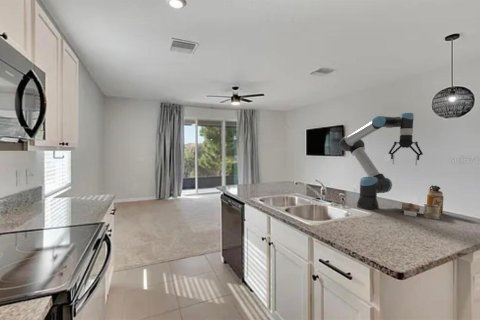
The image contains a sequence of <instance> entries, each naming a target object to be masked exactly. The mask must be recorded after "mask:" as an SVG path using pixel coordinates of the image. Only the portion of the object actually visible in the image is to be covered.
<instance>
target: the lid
mask: <svg viewBox="0 0 480 320" xmlns="http://www.w3.org/2000/svg"><path fill="white" fill-rule="evenodd" d="M420 208H421V207H420V205H419V204H413V203H411V202H408V203H404V202H402V203H401V211H404V210H405V211H412V212H417V213H420V211H421V210H420Z"/></svg>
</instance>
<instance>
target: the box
mask: <svg viewBox="0 0 480 320" xmlns="http://www.w3.org/2000/svg"><path fill="white" fill-rule="evenodd" d="M423 208H424V209H423V215H424V218H427V219H434V220H441V215H442V214H441V208H440V207H439V206H437V205H428V204H427V203H424V207H423Z"/></svg>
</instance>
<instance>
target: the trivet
mask: <svg viewBox="0 0 480 320" xmlns="http://www.w3.org/2000/svg"><path fill="white" fill-rule="evenodd" d="M403 215H405V216H411V217H417V215H418V212H412V211H405V210H403Z"/></svg>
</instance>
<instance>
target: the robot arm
mask: <svg viewBox="0 0 480 320" xmlns="http://www.w3.org/2000/svg"><path fill="white" fill-rule="evenodd" d="M414 118H415V116H414V113H413V112H404V113H401V114H400V116H384V115H376V116H375V117H373V119H371V121H370V122H369V123H367V124H365V125H364V126H362V127H360V128H359V129H357V130H356V131H354V132H353V133H351V134H349V135H345V136H344V137H342V138H340V141H339V142H338V144H339V146H338V147H339V148H340V149H341V150H342V151H343V152H349V153H350V154H351V155H352V156H354V157H355V159H356V160H357V161H358V163H359V165H360V167H361V168H362V169H363V171H364V172H365V174H366V175H367V176H363V177H361V178H360V181H359V197H358V199H357V201H356V207H357V208H359V209H363V210H370V211H372V210H373V211H375V210H376V211H377V210H379V207H380V204H379V202H378V199H377V197H378V196H377V194H384V193H389V192H390V191H391V190H392V188H393V182H392V180H391V179H390V178H389V177H386V176H385V175H384V174H383V172H382V173H381V172H379V171H378V169H377V167H376V166H375V164H374V163H373V161H372V160H371V159H370V157H369V156H368V154H367V152H366V151H365V150H366V148H365V146H366V143H365V141H363V139H364V138H365V137H368V136H369V135H371V134H373V133H374V132H376V131H379V129H382V128H387V129H392V128H399V134H400V135H399V141H394V142H393V145H392V147H391V148H390V149H389V151H388V155H390V160H392V164H393V165H394V164H395V153H397V151H399V149H402V148H403V149H405V148H406V149H408V148H410V149H411V151H413V152H414V154H416V155H415V166H417V165H418V161H420V156H422V155H424V153H423V151H422V150H421V148H420V146H419V143H418V141H413V133H414ZM397 145H399V146H398V147H397V148H396V149H395V147H396V146H397ZM412 145H414V146H415V147H416V149H417V150H418V151H417V150H416V149H415V148H414V147H413V146H412Z"/></svg>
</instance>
